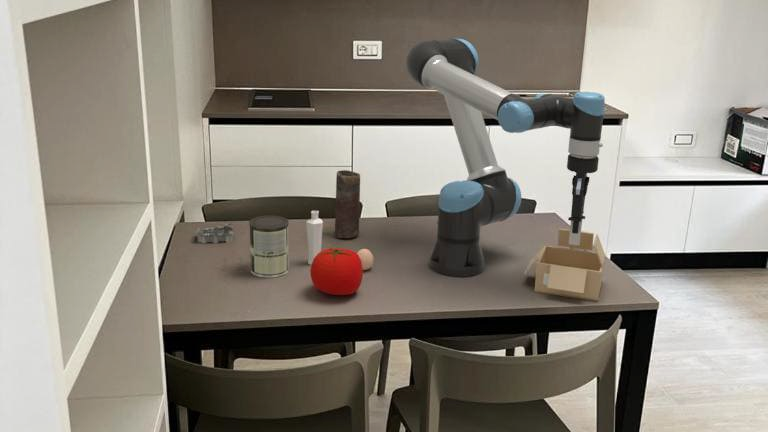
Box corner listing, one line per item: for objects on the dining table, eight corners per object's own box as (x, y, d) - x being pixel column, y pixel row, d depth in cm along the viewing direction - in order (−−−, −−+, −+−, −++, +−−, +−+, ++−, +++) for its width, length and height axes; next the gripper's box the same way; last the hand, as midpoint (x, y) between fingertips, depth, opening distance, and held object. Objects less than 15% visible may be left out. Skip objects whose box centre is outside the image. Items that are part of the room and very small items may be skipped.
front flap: (550, 264, 202) (547, 287, 200) (550, 264, 201) (547, 287, 200) (587, 270, 199) (583, 293, 198) (587, 269, 199) (583, 293, 197)
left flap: (538, 258, 206) (525, 275, 208) (543, 248, 213) (529, 264, 215) (537, 257, 206) (523, 274, 208) (542, 247, 213) (528, 263, 215)
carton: (534, 291, 205) (537, 263, 203) (542, 272, 218) (544, 245, 215) (597, 301, 200) (601, 272, 198) (601, 281, 213) (605, 253, 211)
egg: (355, 273, 214) (356, 252, 212) (353, 266, 218) (354, 246, 217) (374, 272, 214) (375, 252, 213) (371, 265, 219) (372, 245, 217)
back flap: (557, 245, 214) (558, 229, 210) (558, 244, 214) (559, 228, 210) (592, 250, 211) (593, 233, 207) (592, 249, 211) (593, 232, 208)
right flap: (601, 265, 201) (593, 244, 200) (603, 255, 208) (596, 234, 207) (602, 265, 200) (594, 243, 200) (605, 254, 208) (597, 234, 207)
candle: (345, 230, 246) (346, 168, 240) (364, 235, 242) (365, 172, 236) (329, 236, 240) (330, 173, 234) (348, 242, 236) (349, 177, 230)
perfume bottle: (326, 263, 220) (327, 211, 215) (315, 267, 217) (315, 215, 212) (315, 258, 223) (315, 208, 218) (303, 262, 220) (303, 211, 215)
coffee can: (242, 270, 213) (241, 220, 209) (273, 260, 220) (272, 212, 216) (265, 281, 207) (264, 230, 202) (296, 271, 213) (296, 222, 209)
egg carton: (233, 235, 240) (233, 222, 239) (233, 243, 233) (233, 230, 232) (197, 236, 238) (197, 223, 237) (196, 244, 231) (195, 231, 230)
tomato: (368, 284, 206) (369, 242, 203) (354, 305, 194) (355, 261, 190) (320, 279, 209) (321, 237, 205) (304, 299, 196) (304, 255, 193)
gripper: (596, 162, 191) (586, 253, 198) (601, 150, 203) (591, 237, 210) (565, 159, 193) (556, 249, 201) (571, 148, 205) (562, 234, 212)
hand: (574, 243), depth 205 cm, fingers closed
